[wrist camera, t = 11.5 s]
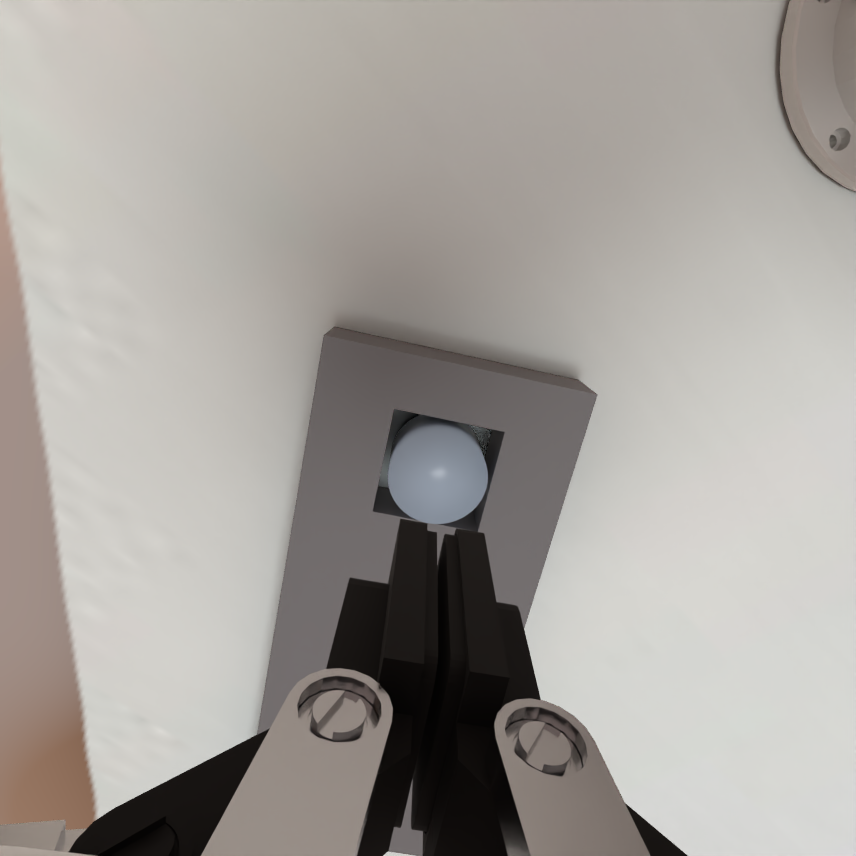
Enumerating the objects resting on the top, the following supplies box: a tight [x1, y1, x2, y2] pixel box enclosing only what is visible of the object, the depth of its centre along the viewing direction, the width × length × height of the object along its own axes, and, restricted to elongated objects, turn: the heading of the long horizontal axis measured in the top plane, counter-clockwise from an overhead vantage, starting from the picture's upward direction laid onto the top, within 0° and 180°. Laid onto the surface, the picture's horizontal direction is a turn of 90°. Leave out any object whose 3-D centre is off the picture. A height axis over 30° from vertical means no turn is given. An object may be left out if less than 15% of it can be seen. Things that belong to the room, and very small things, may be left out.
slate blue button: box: [388, 415, 488, 524], centre depth 26 cm, size 4×4×3 cm
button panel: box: [257, 327, 597, 856], centre depth 30 cm, size 12×28×3 cm, turn 168°
